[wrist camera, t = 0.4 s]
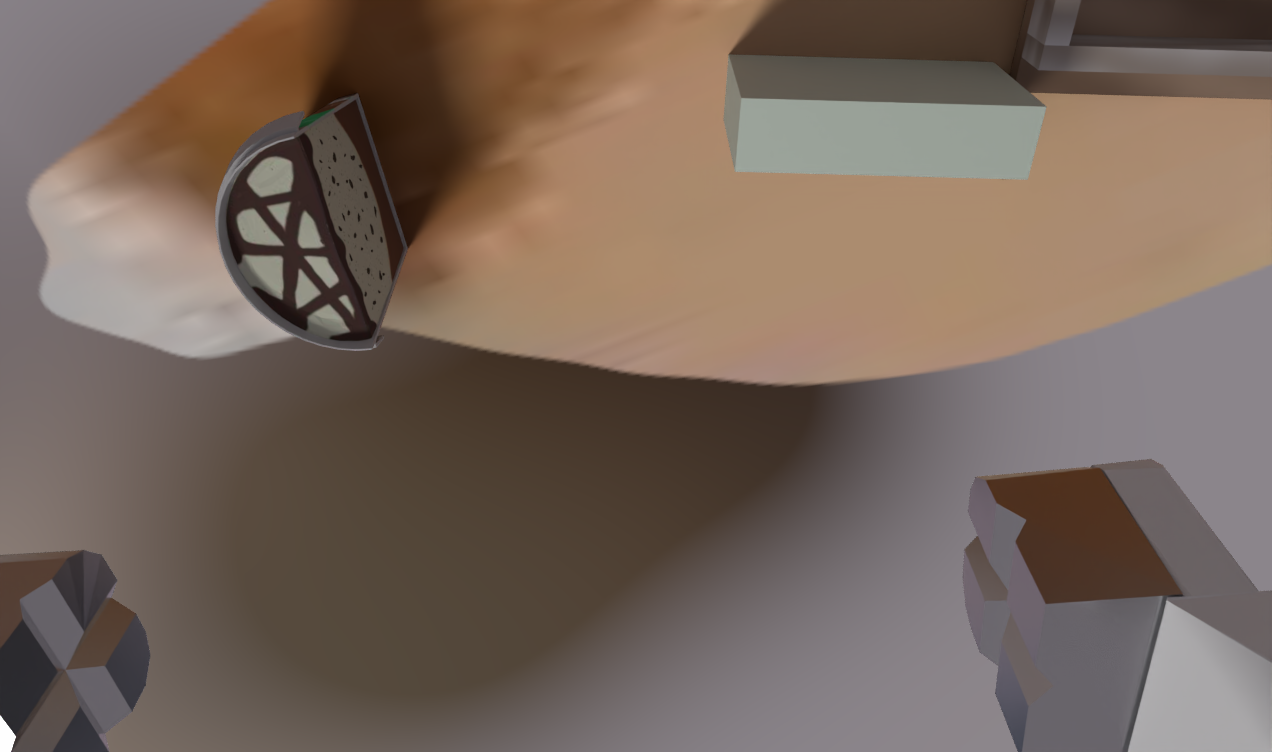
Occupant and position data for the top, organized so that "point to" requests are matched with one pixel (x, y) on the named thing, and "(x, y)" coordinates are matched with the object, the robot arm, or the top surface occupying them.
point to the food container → (313, 227)
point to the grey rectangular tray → (1146, 48)
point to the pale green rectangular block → (879, 117)
